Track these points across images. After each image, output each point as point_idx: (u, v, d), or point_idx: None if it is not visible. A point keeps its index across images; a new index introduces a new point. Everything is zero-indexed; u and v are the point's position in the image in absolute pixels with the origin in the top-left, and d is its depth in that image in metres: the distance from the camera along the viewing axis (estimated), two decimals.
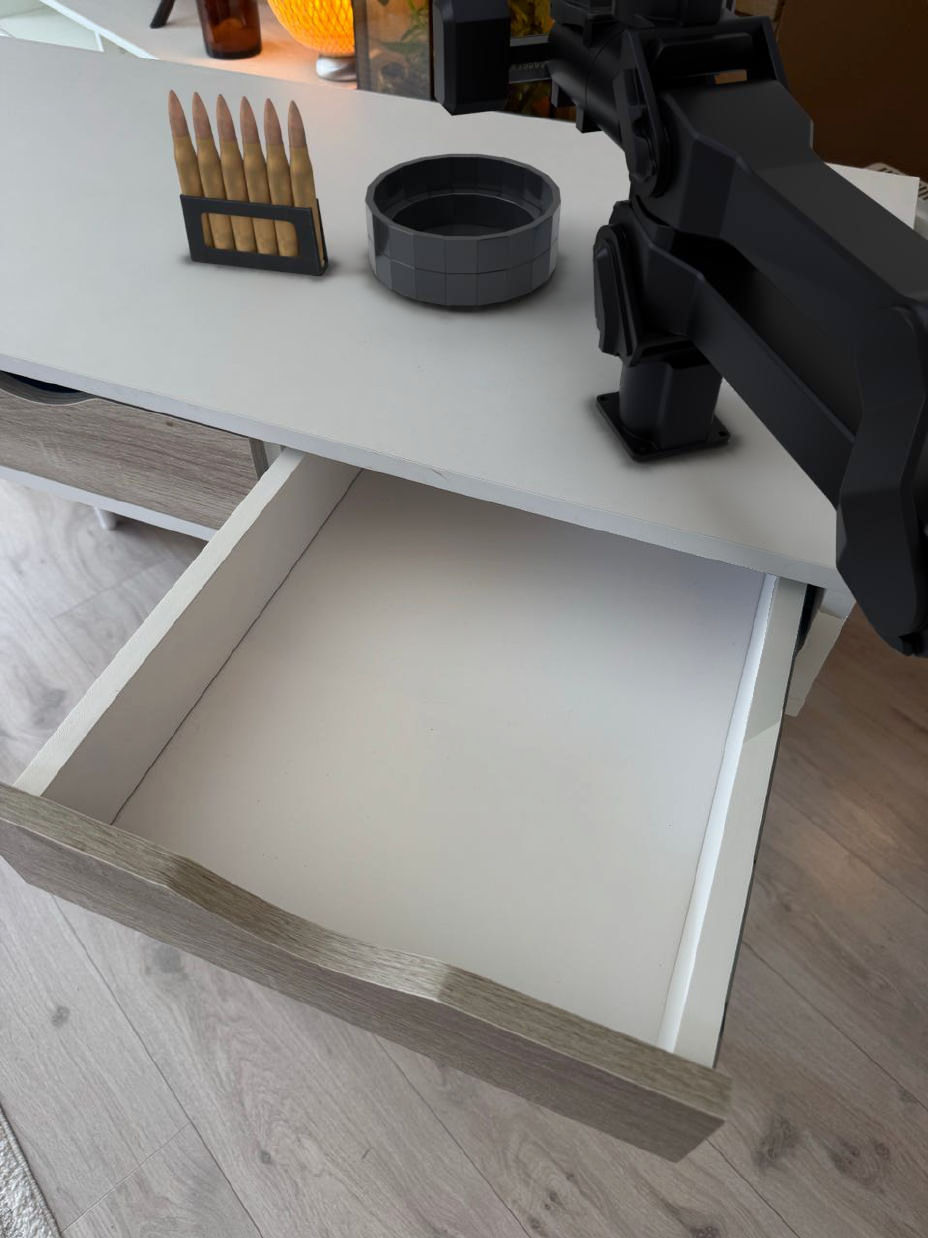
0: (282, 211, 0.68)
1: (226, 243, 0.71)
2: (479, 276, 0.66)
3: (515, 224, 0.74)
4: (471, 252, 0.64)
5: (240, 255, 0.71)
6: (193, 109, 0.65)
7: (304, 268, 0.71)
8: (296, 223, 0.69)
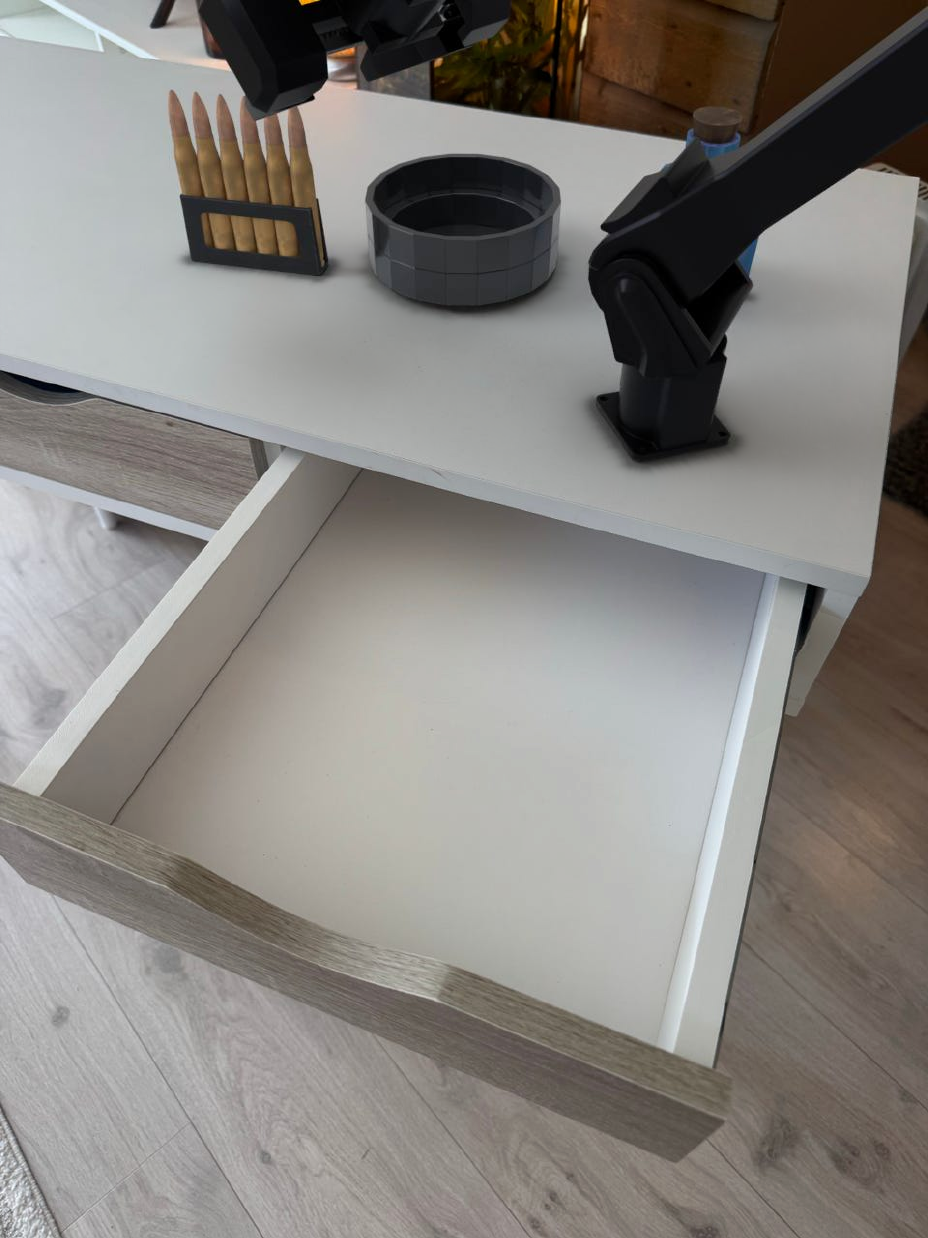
0: (282, 211, 0.68)
1: (226, 243, 0.71)
2: (479, 276, 0.66)
3: (515, 224, 0.74)
4: (471, 252, 0.64)
5: (240, 255, 0.71)
6: (193, 109, 0.65)
7: (304, 268, 0.71)
8: (296, 223, 0.69)
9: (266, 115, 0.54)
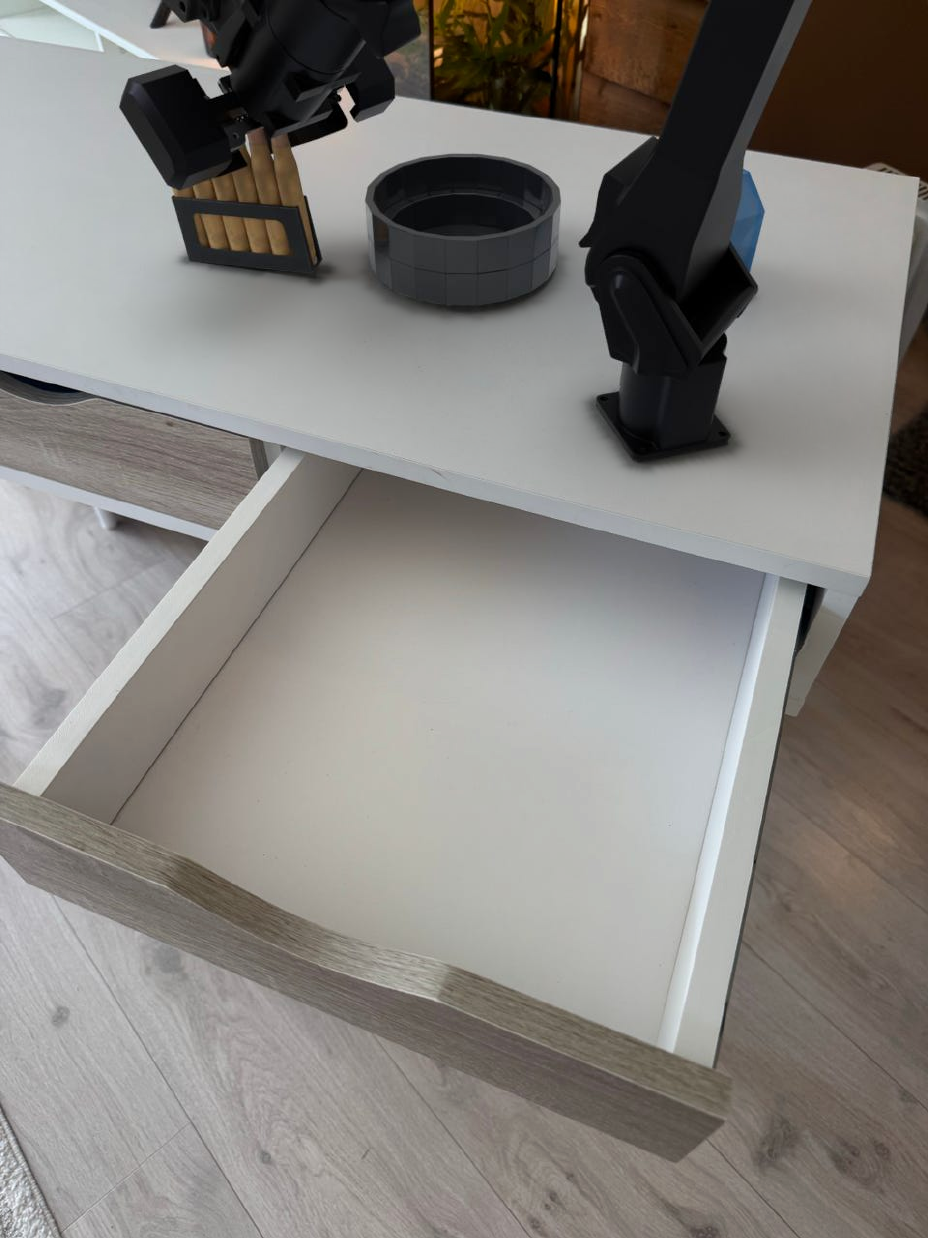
0: (270, 211, 0.67)
1: (220, 243, 0.71)
2: (479, 276, 0.66)
3: (515, 224, 0.74)
4: (471, 252, 0.64)
5: (234, 254, 0.71)
6: None
7: (296, 266, 0.70)
8: (284, 222, 0.68)
9: None
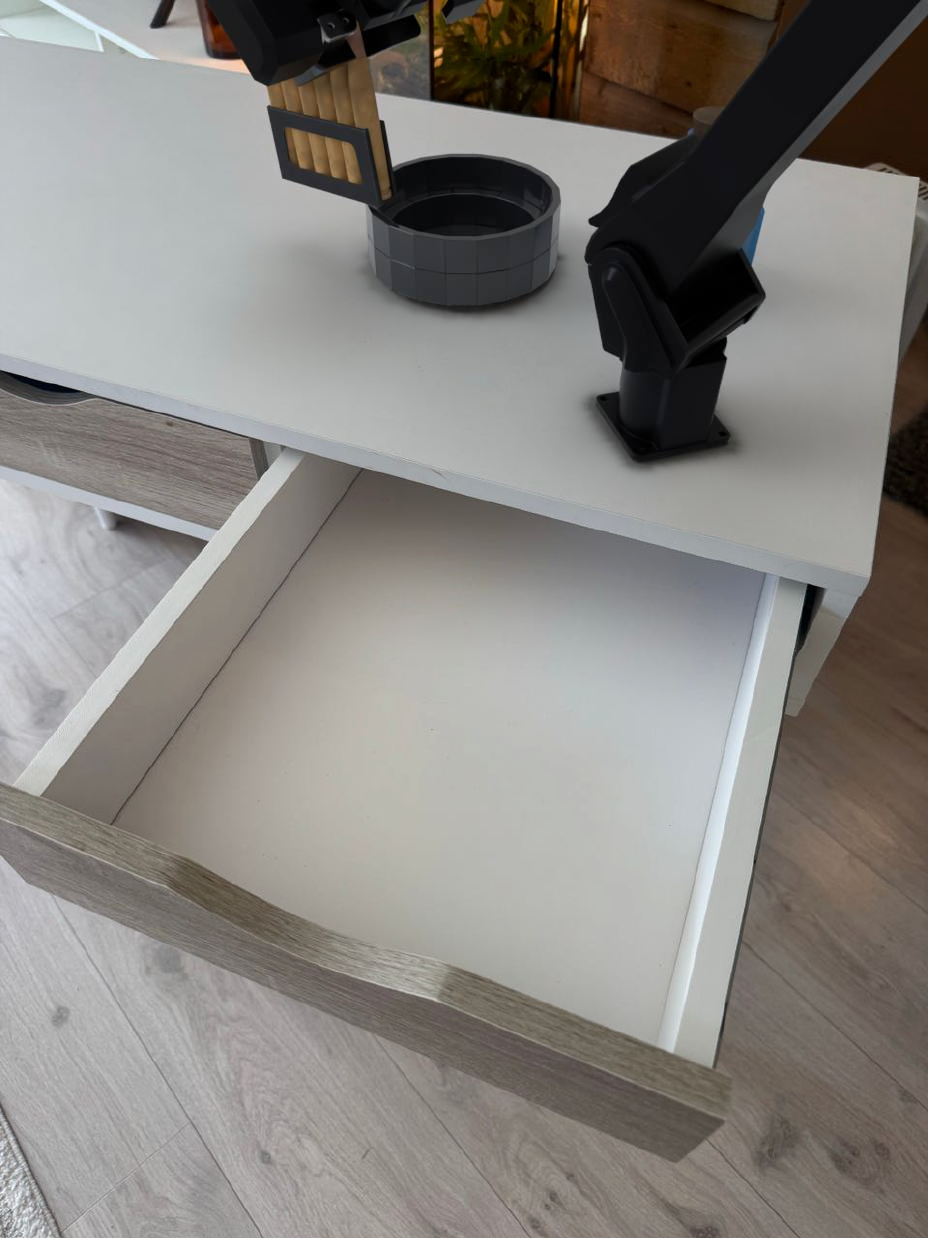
0: (343, 131, 0.63)
1: (306, 162, 0.68)
2: (479, 276, 0.66)
3: (515, 224, 0.74)
4: (471, 252, 0.64)
5: (316, 177, 0.68)
6: None
7: (366, 197, 0.65)
8: (355, 145, 0.63)
9: (310, 78, 0.60)
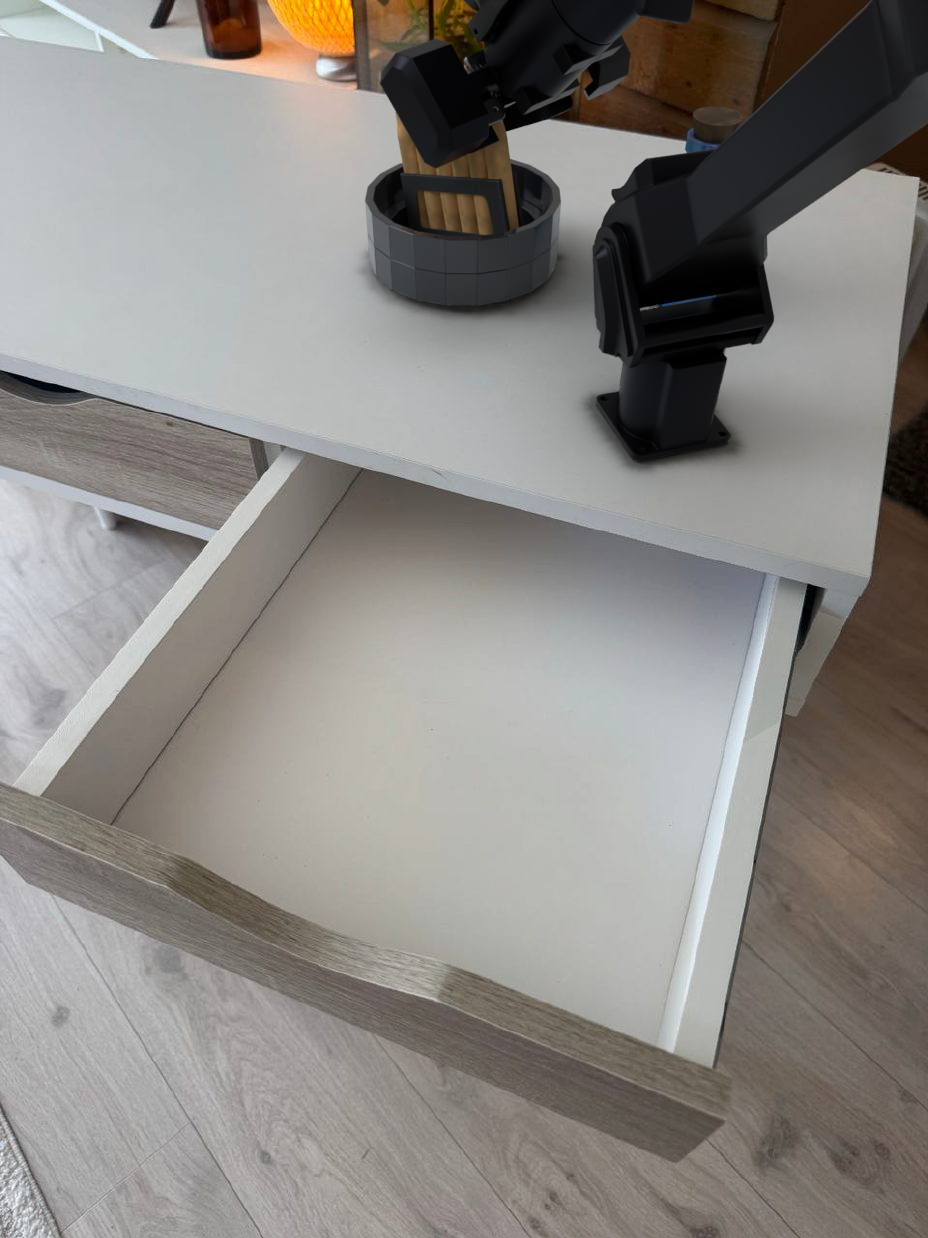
0: (476, 184, 0.66)
1: (437, 222, 0.71)
2: (479, 276, 0.66)
3: None
4: (471, 252, 0.64)
5: (447, 234, 0.70)
6: None
7: None
8: (488, 197, 0.65)
9: None
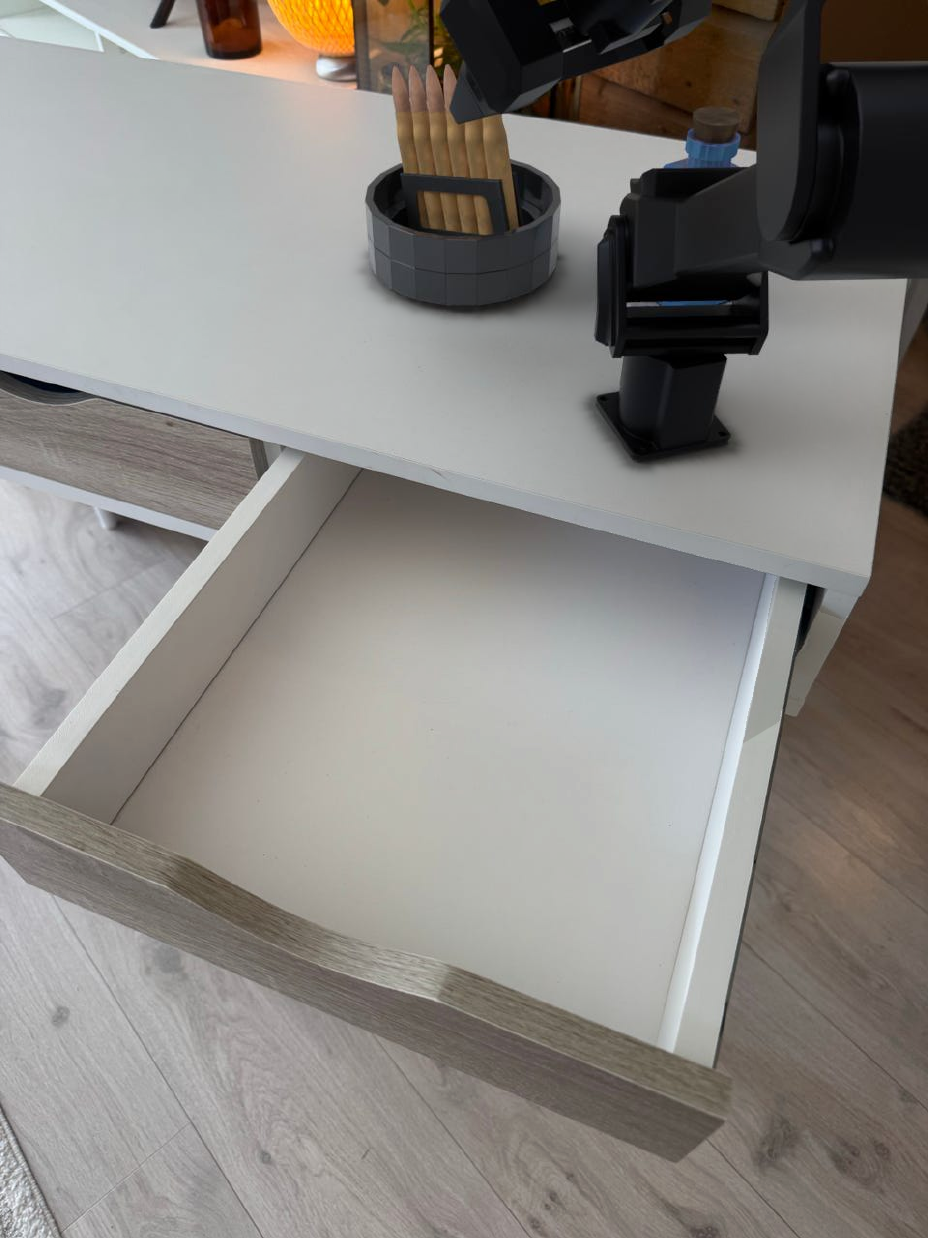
0: (476, 184, 0.66)
1: (437, 222, 0.71)
2: (479, 276, 0.66)
3: None
4: (471, 252, 0.64)
5: (447, 234, 0.70)
6: (409, 82, 0.65)
7: None
8: (488, 197, 0.65)
9: (478, 117, 0.55)
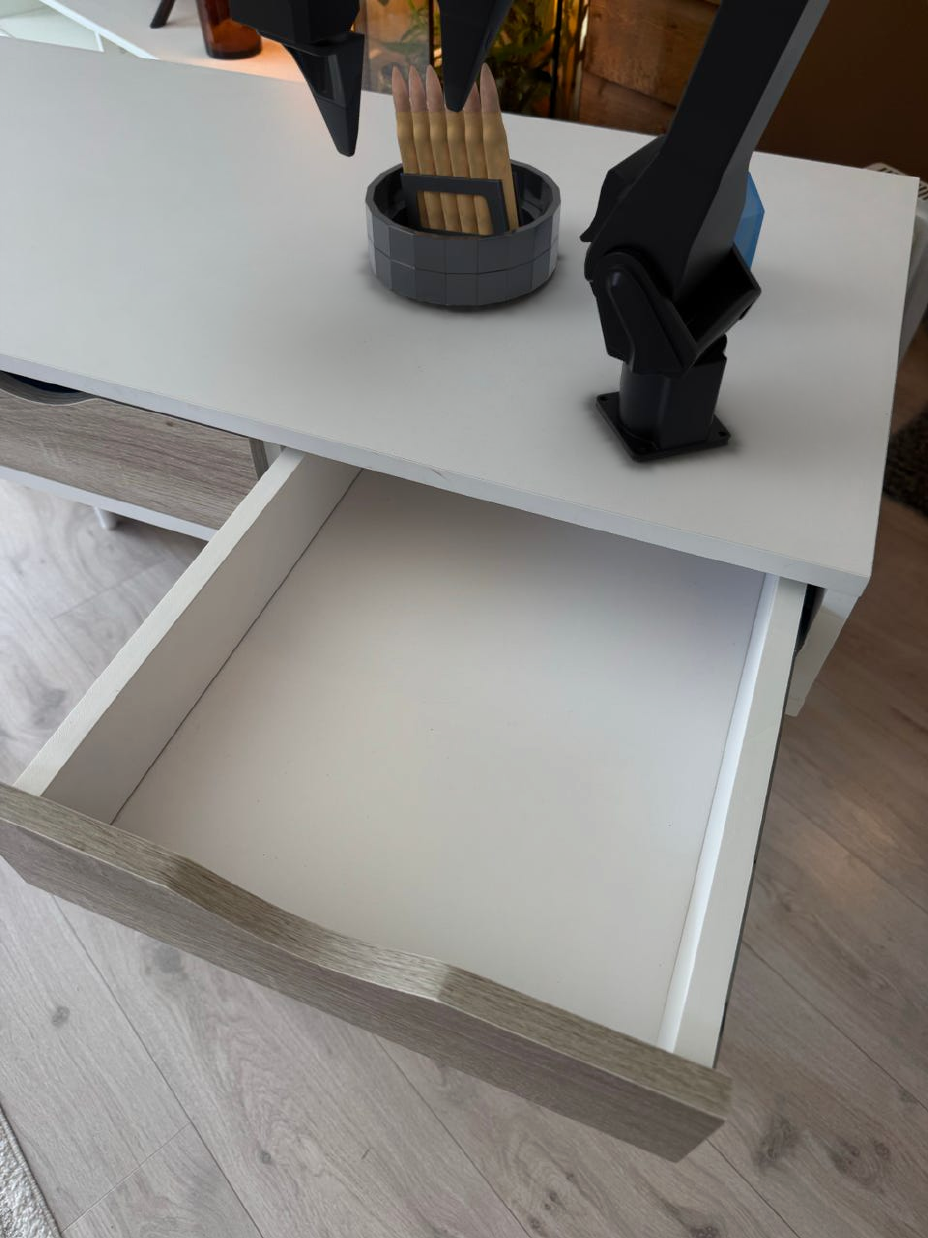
0: (476, 184, 0.66)
1: (437, 222, 0.71)
2: (479, 276, 0.66)
3: None
4: (471, 252, 0.64)
5: (447, 234, 0.70)
6: (409, 82, 0.65)
7: None
8: (488, 197, 0.65)
9: (346, 118, 0.52)
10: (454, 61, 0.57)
